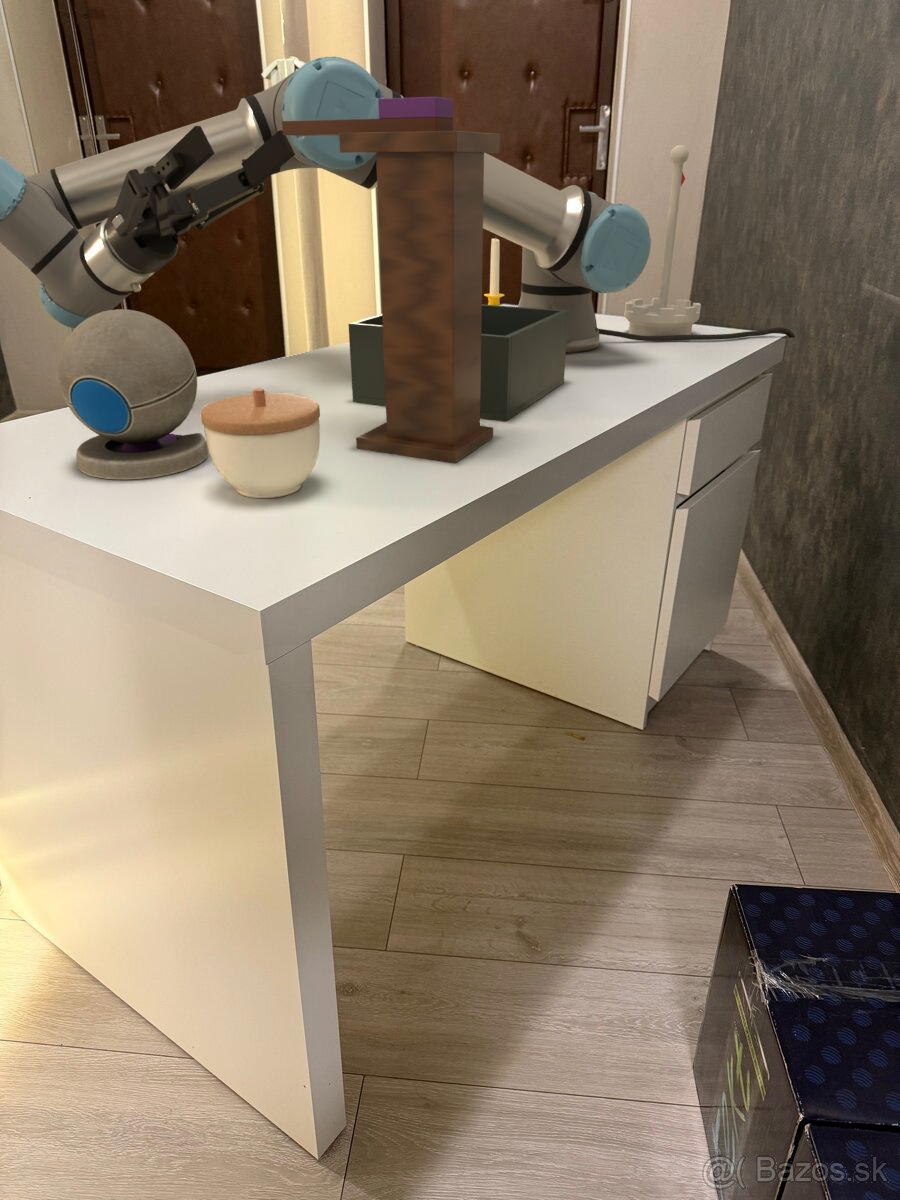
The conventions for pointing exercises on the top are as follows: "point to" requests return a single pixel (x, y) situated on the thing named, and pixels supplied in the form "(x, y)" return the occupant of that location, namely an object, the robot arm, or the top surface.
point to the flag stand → (665, 277)
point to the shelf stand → (429, 288)
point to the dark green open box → (508, 358)
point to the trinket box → (263, 441)
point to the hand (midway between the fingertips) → (249, 140)
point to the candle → (494, 274)
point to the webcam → (130, 395)
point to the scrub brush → (384, 119)
